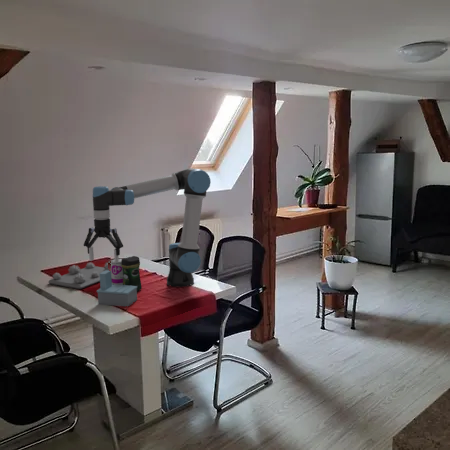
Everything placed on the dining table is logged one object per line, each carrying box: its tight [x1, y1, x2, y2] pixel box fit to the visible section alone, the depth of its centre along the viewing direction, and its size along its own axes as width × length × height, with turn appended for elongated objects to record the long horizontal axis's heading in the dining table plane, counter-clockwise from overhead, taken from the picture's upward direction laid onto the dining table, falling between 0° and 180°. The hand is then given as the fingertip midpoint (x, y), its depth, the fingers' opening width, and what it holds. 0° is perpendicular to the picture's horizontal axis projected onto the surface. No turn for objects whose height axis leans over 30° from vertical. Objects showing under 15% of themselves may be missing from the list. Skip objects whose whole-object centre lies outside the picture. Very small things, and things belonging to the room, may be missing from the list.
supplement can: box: [109, 258, 123, 285], centre depth 248 cm, size 8×8×15 cm
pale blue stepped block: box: [96, 270, 137, 295], centre depth 223 cm, size 17×11×9 cm, turn 76°
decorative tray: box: [48, 262, 109, 290], centre depth 263 cm, size 35×26×10 cm
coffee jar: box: [121, 255, 143, 292], centre depth 240 cm, size 10×8×19 cm
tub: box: [97, 288, 138, 307], centre depth 224 cm, size 16×10×6 cm, turn 76°
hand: (104, 261), depth 222 cm, fingers open, 13 cm apart
